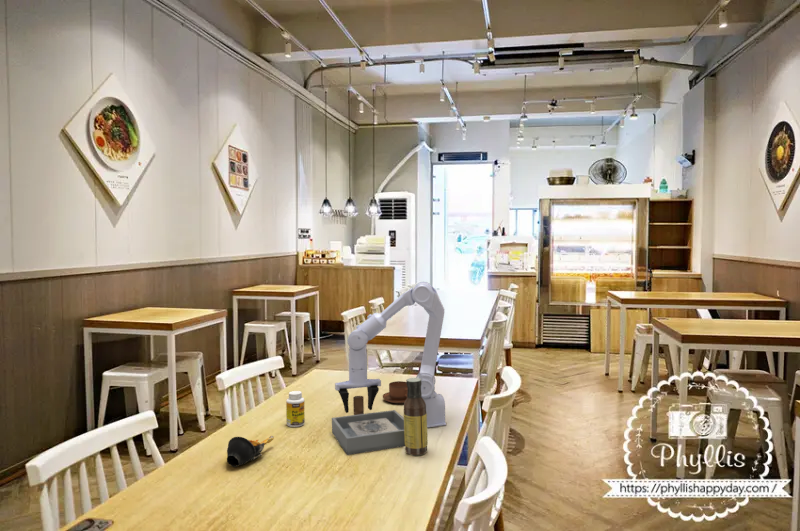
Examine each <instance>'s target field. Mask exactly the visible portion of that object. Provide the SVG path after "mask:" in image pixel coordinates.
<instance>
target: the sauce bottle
mask: <svg viewBox="0 0 800 531" xmlns="http://www.w3.org/2000/svg"><path fill="white" fill-rule="evenodd" d="M405 382H406V384H407V391H408V393H407V395H408V396H407V399H406V401H405V403H403V418H404V438H405V447H404V449H405V450H404V451H405V452H406V454H408V455H411V456H415V457H416V456H417V457H418V456H422V455H425V454H427V452H428V441H429V440H428V428H427V413H426V404H425V401H424V400H423V398H422V397H421V396H422V393H421V384H422V383H421V379H420V378H416V377H409V378H407V379H406V381H405Z"/></svg>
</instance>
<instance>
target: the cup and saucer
mask: <svg viewBox="0 0 800 531" xmlns="http://www.w3.org/2000/svg"><path fill="white" fill-rule="evenodd" d="M407 393H408V391H407V384H406V381H402V380H401V381H399V380H397V381H392V382H390V383H389V384H388V392H385V393H384V394H383V393H382V399H383V400H384V401H385V402H388V403H390V404H391V403H392V404H404V403H405V401H406V399H407V396H408V395H407Z"/></svg>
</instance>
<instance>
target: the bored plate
mask: <svg viewBox="0 0 800 531" xmlns="http://www.w3.org/2000/svg"><path fill="white" fill-rule="evenodd" d="M397 430H398V429H397V428H396V427H395V426H394V425H393V424H392V423H391V422H390V421H389V420H388V419H387V418H380V419H372V420H364V421H356V422H348V423H347V431H348V432H349V434H350V435H351V436H352V437H354V436H361V435H368V434H375V433H383V432H390V431H397Z"/></svg>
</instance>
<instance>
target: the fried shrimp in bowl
mask: <svg viewBox="0 0 800 531" xmlns="http://www.w3.org/2000/svg"><path fill="white" fill-rule="evenodd" d="M274 437H275V436H273V435H270V436H269V437H267V438H266V439H264V440H262V441H260V442H259V439H255V440H252V439H247V438H245V437H242V436H234V437H231V439H229V441H228V445H227V450H226V454H227V458H226V463H227V464H228V466H230V467H232V468H237V467H239V466H242V465H245V464H247V463H249V462H250V461H255V460H257V459H258V458H260V457H261V456H262V455H263V454H262V452H263V451H264V449H265V445H267V444H269V443H271V442H272V441H273V440H274V439H275V438H274Z"/></svg>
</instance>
